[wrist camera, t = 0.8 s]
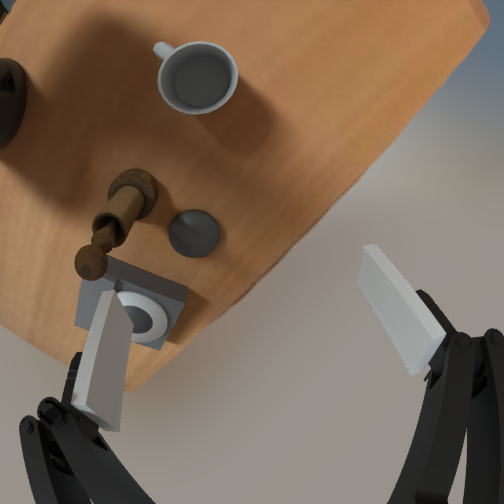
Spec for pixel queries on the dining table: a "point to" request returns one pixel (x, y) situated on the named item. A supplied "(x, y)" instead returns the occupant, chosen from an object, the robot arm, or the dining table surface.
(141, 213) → the brown wooden pepper mill
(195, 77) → the cup
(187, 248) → the dark grey dome
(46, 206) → the dining table surface
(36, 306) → the dining table surface
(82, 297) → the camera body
